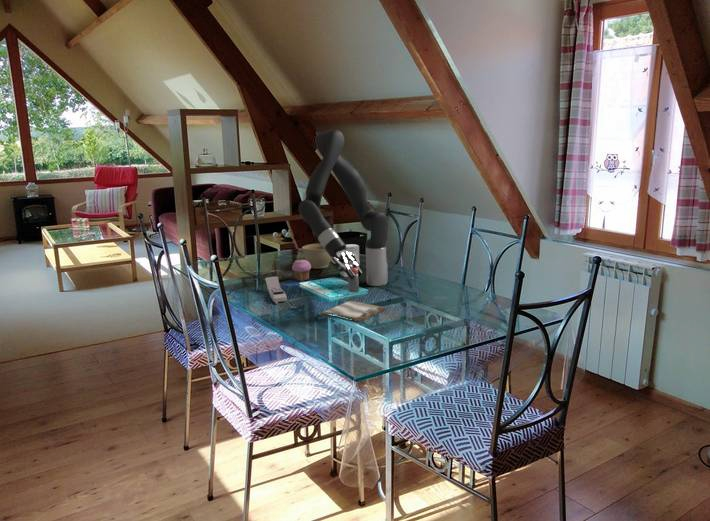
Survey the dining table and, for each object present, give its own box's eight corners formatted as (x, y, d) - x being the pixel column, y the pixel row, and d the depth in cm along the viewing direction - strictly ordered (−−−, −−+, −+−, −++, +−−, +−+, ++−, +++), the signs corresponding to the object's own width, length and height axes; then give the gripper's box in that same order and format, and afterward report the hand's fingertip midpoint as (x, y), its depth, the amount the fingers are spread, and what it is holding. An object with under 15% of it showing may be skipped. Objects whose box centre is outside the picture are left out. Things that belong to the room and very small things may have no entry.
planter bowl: (340, 265, 307) (339, 244, 305) (322, 272, 294) (321, 250, 291) (315, 262, 316) (314, 242, 313) (297, 268, 302) (295, 248, 300)
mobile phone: (277, 275, 267) (287, 289, 244) (278, 288, 269) (288, 303, 245) (264, 277, 266) (273, 291, 242) (265, 290, 267) (274, 305, 244)
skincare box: (344, 277, 282) (343, 247, 279) (339, 274, 288) (338, 244, 284) (360, 275, 286) (359, 245, 282) (355, 272, 291) (354, 243, 288)
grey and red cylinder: (352, 288, 232) (352, 266, 230) (360, 290, 230) (360, 267, 228) (346, 291, 229) (345, 268, 227) (354, 292, 227) (354, 270, 225)
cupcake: (300, 283, 274) (298, 262, 272) (289, 280, 281) (288, 259, 278) (315, 279, 280) (314, 259, 278) (304, 276, 286) (303, 256, 284)
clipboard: (350, 302, 244) (350, 297, 243) (386, 309, 233) (386, 304, 233) (322, 314, 230) (322, 309, 229) (359, 322, 219) (359, 317, 219)
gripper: (325, 239, 224) (351, 274, 219) (348, 233, 235) (373, 267, 230) (315, 251, 228) (340, 286, 223) (338, 245, 239) (362, 278, 235)
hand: (357, 276), depth 227 cm, fingers closed on grey and red cylinder, 4 cm apart
